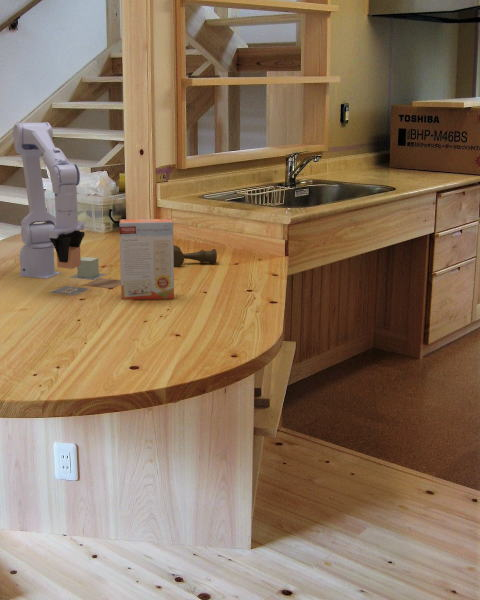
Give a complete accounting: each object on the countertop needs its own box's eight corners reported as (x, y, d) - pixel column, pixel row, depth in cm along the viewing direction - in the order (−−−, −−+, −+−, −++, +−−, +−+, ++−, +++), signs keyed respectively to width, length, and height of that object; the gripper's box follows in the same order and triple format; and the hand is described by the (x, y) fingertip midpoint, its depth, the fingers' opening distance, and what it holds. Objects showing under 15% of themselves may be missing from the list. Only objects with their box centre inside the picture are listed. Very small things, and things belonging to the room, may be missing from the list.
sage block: (77, 276, 231) (76, 259, 230) (85, 273, 235) (84, 256, 234) (91, 278, 230) (90, 261, 228) (98, 274, 234) (98, 258, 233)
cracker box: (173, 294, 215) (173, 217, 210) (174, 299, 210) (173, 221, 204) (121, 294, 214) (119, 218, 208) (120, 300, 208) (119, 221, 202)
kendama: (218, 268, 248) (154, 267, 245) (214, 262, 258) (152, 262, 255) (218, 249, 247) (154, 248, 244) (215, 244, 256) (153, 243, 253)
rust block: (57, 267, 213) (56, 249, 211) (66, 263, 217) (65, 246, 215) (72, 269, 211) (71, 250, 210) (80, 265, 215) (80, 247, 214)
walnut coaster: (83, 286, 222) (83, 285, 222) (99, 279, 230) (99, 278, 230) (112, 289, 219) (112, 288, 219) (127, 282, 227) (127, 280, 227)
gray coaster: (69, 278, 230) (69, 277, 230) (83, 272, 238) (83, 271, 237) (93, 281, 228) (93, 279, 228) (107, 275, 235) (106, 273, 235)
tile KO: (49, 293, 213) (48, 292, 213) (64, 286, 221) (64, 285, 221) (74, 296, 211) (74, 295, 211) (90, 289, 218) (90, 288, 218)
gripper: (65, 215, 202) (67, 267, 206) (93, 207, 215) (94, 256, 219) (41, 213, 204) (43, 264, 208) (70, 205, 217) (72, 253, 221)
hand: (68, 260), depth 214 cm, fingers closed on rust block, 4 cm apart
